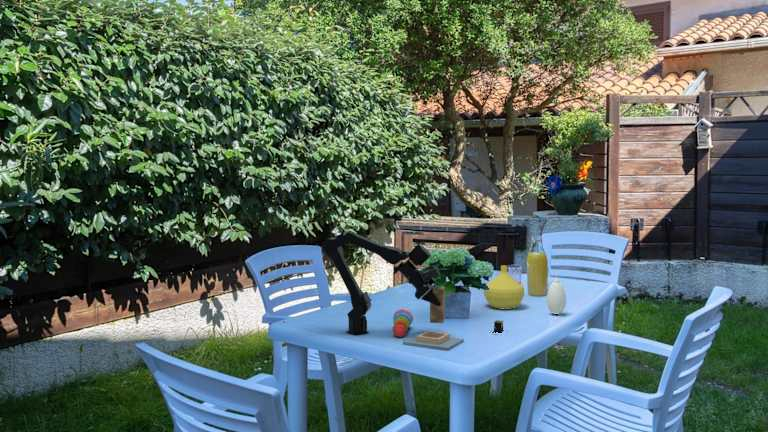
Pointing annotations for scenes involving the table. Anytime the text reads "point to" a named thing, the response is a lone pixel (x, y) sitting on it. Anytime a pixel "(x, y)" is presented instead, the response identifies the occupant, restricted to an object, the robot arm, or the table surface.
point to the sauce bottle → (556, 297)
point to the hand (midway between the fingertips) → (441, 304)
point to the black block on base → (498, 326)
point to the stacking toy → (402, 321)
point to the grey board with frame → (434, 340)
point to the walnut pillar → (438, 311)
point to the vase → (504, 291)
